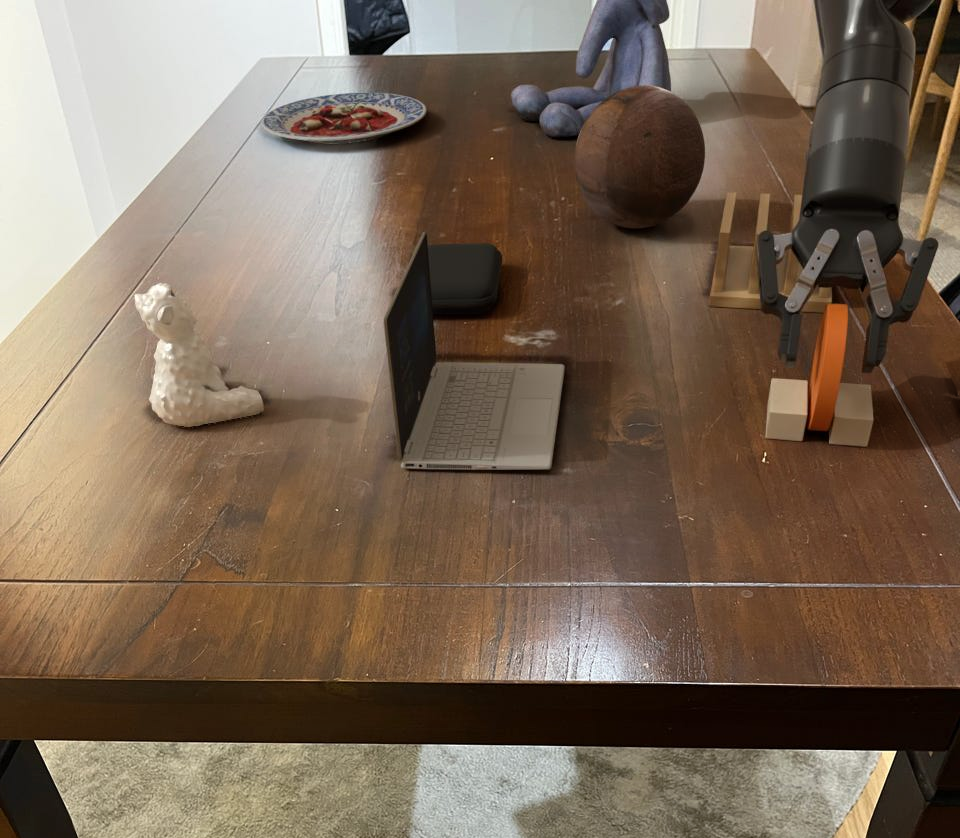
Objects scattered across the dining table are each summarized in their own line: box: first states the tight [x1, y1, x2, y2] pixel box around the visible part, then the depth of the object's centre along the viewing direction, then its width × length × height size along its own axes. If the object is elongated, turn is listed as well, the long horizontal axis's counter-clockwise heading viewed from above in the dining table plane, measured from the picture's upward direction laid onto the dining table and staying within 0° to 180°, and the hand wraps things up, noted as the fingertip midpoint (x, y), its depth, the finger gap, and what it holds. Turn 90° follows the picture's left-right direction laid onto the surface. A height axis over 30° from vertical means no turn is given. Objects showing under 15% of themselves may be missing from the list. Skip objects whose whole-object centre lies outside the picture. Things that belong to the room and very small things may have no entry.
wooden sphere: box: [574, 85, 706, 229], centre depth 117 cm, size 15×15×15 cm
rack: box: [708, 191, 833, 314], centre depth 105 cm, size 12×14×7 cm
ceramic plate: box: [261, 92, 427, 144], centre depth 158 cm, size 26×26×3 cm
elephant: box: [510, 0, 672, 139], centre depth 151 cm, size 21×25×21 cm
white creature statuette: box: [134, 282, 265, 427], centre depth 87 cm, size 10×9×12 cm
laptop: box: [383, 230, 566, 471], centre depth 84 cm, size 18×12×13 cm
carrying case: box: [428, 242, 503, 316], centre depth 108 cm, size 11×3×15 cm
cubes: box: [764, 377, 874, 448], centre depth 84 cm, size 8×6×2 cm
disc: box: [806, 303, 849, 432], centre depth 82 cm, size 2×10×10 cm, turn 166°
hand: (829, 366), depth 80 cm, fingers open, 5 cm apart
